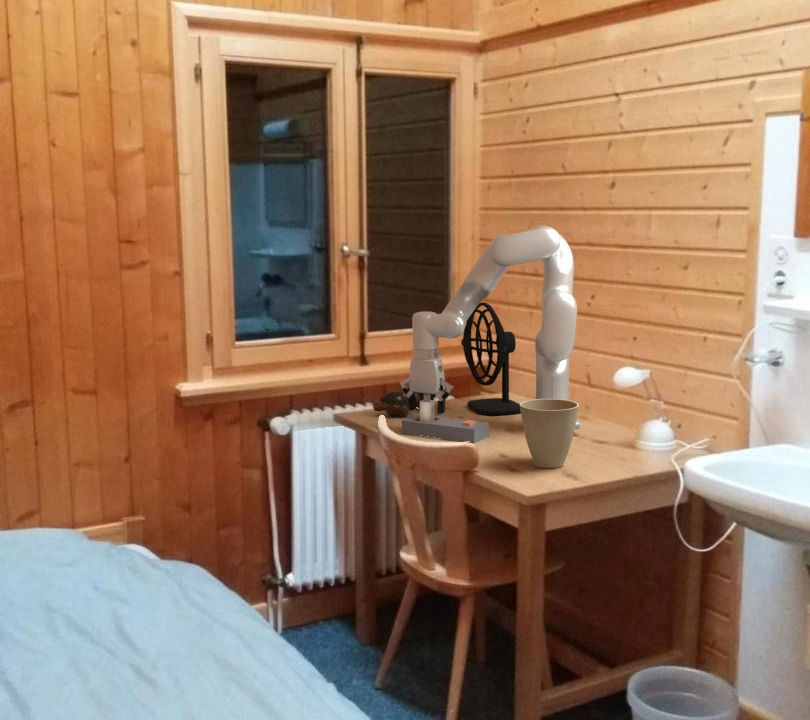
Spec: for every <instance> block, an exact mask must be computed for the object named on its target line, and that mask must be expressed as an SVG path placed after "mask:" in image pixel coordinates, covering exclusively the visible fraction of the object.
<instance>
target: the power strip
mask: <svg viewBox="0 0 810 720" xmlns="http://www.w3.org/2000/svg"><path fill="white" fill-rule="evenodd" d="M489 430H490V426H489V422H485V421H478V420H472V419H461V418H460V419H459V418H452V417H451V418H450V417H442V416H435V421H433V422H431V423H430V422H422V421H420V414H419V413H418V414H414V415H413V416H410V417H406V418H403V419H402V420H401V434H402V435H408V436H415V435H423V436H429V437H428V438H430V437H436V438H435V439H438V438H441V439H440V440H446V439H447V440H446V441H454V440H457V441H456V442H461V441H470V442H473V443H472V444H476V443H478V442H480V441H482V440H484V439H486V438H489V435H490V433H489V432H490V431H489ZM423 436H422V437H423Z"/></svg>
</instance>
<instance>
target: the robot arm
mask: <svg viewBox="0 0 810 720" xmlns="http://www.w3.org/2000/svg"><path fill="white" fill-rule="evenodd" d="M538 260H542V262H543V263H542V264H543V276H542V277H543V278H542V279H543V280H542V290H541V298H540V302H539V305H540V309H541V312H542V314H541V315H542V316H541V317H542V318H541V327H540V329H539V330H538V332H537V333H536V336H535V341H534V342H535V347H534V349H535V363H536V364H535V372H536V373H535V399H562V400H569V401H570V356H571V355H572V353H573V350H574V346H575V339H576V329H577V328H576V327H577V318H578V304H577V300H576V298H575V296H574V295H573V290H574V289H573V288H574V271H575V268H574V267H575V264H574V262H575V261H574V255H573V253H572V250H571V247H570V245H569V243H568V242H567V240H566V239H565V238H564V237H563V236H562V235H561V234H560V233H559V232H558V231H557V230H556V229H555V228H553V227H552V226H548V225H543V224H542V225H537V226H535V227H534V228H533V229H531V230H527V231H522V232H519V233H517V232H516V233H513V234H500V235H499V234H498V235H496V236H495V237H494V238H493V239H492V240H491V241H490V243H488V245H487V247H486V248H485V249H484V251H483V252H482V254H481V255H480V257H479V258H478V259H477V261H476V263H474V266H473V267H472V268H471V270H470V271H469V273H467V275H466V277H465V278H464V280H463V281H462V283H461V285H460V286H459V288H458V289H457V291H456V292H455V294H454V295H453V296H452V298H451V299H450V300H449V301H448V303H447V304H446V306H445V307H444V309H443V310H442V312H441V313H437V312H433V311H418V312H414V313H413V314H412V325H411V326H412V358H411V359H410V364H409V370H408V371H409V372H408V373H409V374H408V377H407V378H405V379H403V380H401V381H400V383H399V384H400V386H401V389H402V391H403V393H404V394H406V397H407V398H408V407H409V412H413V411H415V410H417V408H416V396H414V395H415V394H416V392H418V393H427V394H435V395H436V398H437V399H438V400H437V402H436V403H437V404H436V405H437V406H436V408H437V415H442V414H444V413H445V412H446V400H447V399H448V398H449V396H451V394H452V391H453V389H454V386H453V385H452V384H451V383H449V382H448V381H446V377H445V369H444V365H443V359H442V358H440V357H442V356H443V352H442V351H440V346H439V345H440V344H439V340H440V339H439V337H440V338H446V339H455V338H458V337H460V336H461V335H463V334H464V329H465V326H466V322H467V320H468V318H469V317H470V315H471V314H472V312H473V311H474V310H475V308H476V307H477V306H478V305H479V303H482V301H483V300H485V299H487V297H489V296H490V295H491V294H492V293H493V291H494V290H495V288H496V287H497V285H498V284H499V282H500V281H501V280H502V278H503V277H504V275H505V274H506V273H507V271H508V270H509V268H510V267H511V266H517V265H521V264H525V263H529V262H533V261H538ZM582 426H583V425H582V422H581V421H578V420H576V425H575V430H582Z"/></svg>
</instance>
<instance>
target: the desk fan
mask: <svg viewBox="0 0 810 720" xmlns="http://www.w3.org/2000/svg"><path fill="white" fill-rule="evenodd" d="M482 306H483V307H485V309H483V310H481V309H479V308H481V307H482ZM487 312H488V313H489V314H490V316H491V319H492V320H490V322H489V320H488V317H487V316H486V313H487ZM476 313H478V314H479V317H477V322H476V321H474V317H475V314H476ZM482 320H483V321H484V325H485V326H486V333H485V335H486V336H485V338H486V339H485V338H482V333H481V331H480V327H481V323H482ZM473 325H474V327H475V337H472V331H473V330H472V328H473ZM492 325H494V328H495V335H496V336H495V337H496V338H495V340H493V336H492V330H491V326H492ZM462 335H463V336H462V339H461V341H460V342H461V343H460V344H461V346H462V348H463V353H464V358H465V361H466V363H467V366H468V367H469V370H470V373H471V375H472V376H473V379H474V380H475V381H476V382H477V383H478V384H480V385H482V386H491V385H493V384H494V383H495V381H496V380H497V378H498V377H499V375H500V373H501V397H491V398H481V399H480V398H476V399H472V400H468V401H467V403H466V406H467V408H469V407H470V408H469V409H471V410H474V411H475V412H477V413H479V414H482V415H489V416H490V415H491V416H495V415H496V416H498V415H509V414H517V413H518V414H519V413H521V410H520V403H518V402H516V401H514V400H512V399H510V388H509V387H510V368H509V367H510V354H511V353H514V352H515V350H516V345H517V343H516V341H517V340H516V336H515V334H514V333H513V332H512V331H505V329H504V326H503V325H502V323H501V321H500V318H499V317H498V314H497V313H496V311H495V309H494V308H493V307H492V305H491V304H489V303H488V302H484V301H483V302H482V301H481V302H480V303H479V305H478V306H477V307H476V308H475V310H474V311H473V312H472V314H471V315H470V317H469V318H468V320H467V321H466V323H465V329H464V331H463V333H462ZM472 342H475V346H472V345H473V344H472ZM483 343H485V346H486V348H483ZM494 345H495V346H496V349H494V347H493V346H494ZM473 351H476V357H477V363H476V364H475V361H474V356H473V355H474V354H473ZM483 353H487V356H488V362H487V367H486V368H485V366H484V364H483V360H482V359H483V358H482V355H483ZM493 354H497V355H496V363H495V362H494V360H493V357H494V356H493ZM492 366H494V371H493V373H492V374H491V375H490V371H491V369H492ZM479 367H480V369H481V372H482V373H483V375H481V376H480V374H479V372H478V370H477V368H479ZM485 378H489V379H487V380H486V381H484V380H483V379H485Z"/></svg>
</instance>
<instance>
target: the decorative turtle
mask: <svg viewBox="0 0 810 720" xmlns="http://www.w3.org/2000/svg"><path fill="white" fill-rule="evenodd" d="M414 396H416V405H417V403H418V400H419V398H420V397H419V395H418V393H416V394H415V395H414ZM372 409H373V411H375V412H384V411H385V412H386V414H387V417H388V418H390V417H392V418H394V417H395V415H396V414H399V416H400V417H401V418H402V417H406V418H407V417H408V415H409V413H410V411H409V407H408V398H407V397H406V394H405V393H404V392H401V391H391V392H388V393H386V394H384V395H382V396H381V397H380V398H379V400H378V401H375V402H373V403H372Z"/></svg>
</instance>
